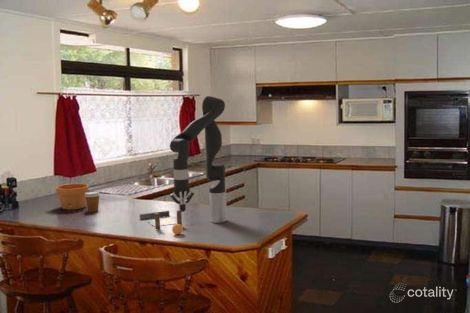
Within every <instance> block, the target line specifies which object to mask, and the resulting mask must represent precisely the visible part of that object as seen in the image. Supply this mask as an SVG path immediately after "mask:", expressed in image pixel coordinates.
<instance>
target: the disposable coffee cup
mask: <svg viewBox="0 0 470 313" xmlns="http://www.w3.org/2000/svg"><path fill="white" fill-rule="evenodd" d="M85 197H86V201H85V203H86V207H87V211H88V212H89V213H90V212H91V213H92V212H98V211H99V202H100V201H99V200H100V191H96V190H95V191H88V192H86V193H85Z"/></svg>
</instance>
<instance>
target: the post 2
mask: <svg viewBox="0 0 470 313" xmlns="http://www.w3.org/2000/svg"><path fill="white" fill-rule="evenodd" d="M182 218H183V217H182V212H181V211H180V209H179V210H176V223H177V224H180V225H181V226H182V227H183V222H182V221H183V219H182Z"/></svg>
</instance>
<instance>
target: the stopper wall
mask: <svg viewBox="0 0 470 313" xmlns="http://www.w3.org/2000/svg"><path fill="white" fill-rule="evenodd" d="M155 213H159V215H160V218H163V217H162V216H166V217H170V211H169V210H163V211H154V212H145V213H139V220H140V219H142V220H147V219H146V218H150V219H153V218H152V217H155Z"/></svg>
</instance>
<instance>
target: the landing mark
mask: <svg viewBox="0 0 470 313" xmlns="http://www.w3.org/2000/svg"><path fill="white" fill-rule="evenodd" d="M163 219H164V220H163V221H164V222H163V221H162V222H163V223H164V225H163V223H162V225H163V226H169V224H171V225H175V224H176V223H177V221H174V220H173V219H171V218H170V217H169V218H163Z"/></svg>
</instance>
